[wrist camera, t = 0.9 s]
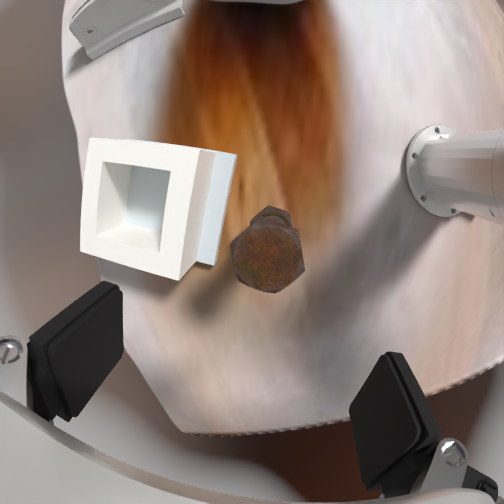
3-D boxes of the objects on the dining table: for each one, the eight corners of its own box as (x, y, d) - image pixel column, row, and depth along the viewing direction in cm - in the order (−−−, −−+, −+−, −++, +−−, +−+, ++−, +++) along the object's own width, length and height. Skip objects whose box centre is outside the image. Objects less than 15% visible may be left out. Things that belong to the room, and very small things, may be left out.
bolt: (268, 250, 35) (260, 306, 21) (242, 220, 34) (214, 258, 20) (304, 221, 34) (321, 260, 19) (277, 190, 33) (275, 206, 19)
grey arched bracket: (90, 61, 29) (54, 30, 19) (94, 44, 29) (61, 14, 20) (187, 14, 26) (160, -33, 16) (185, 0, 27) (161, -43, 17)
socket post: (237, 155, 32) (223, 150, 24) (216, 261, 36) (198, 288, 28) (114, 138, 33) (76, 135, 25) (103, 232, 37) (68, 248, 29)
